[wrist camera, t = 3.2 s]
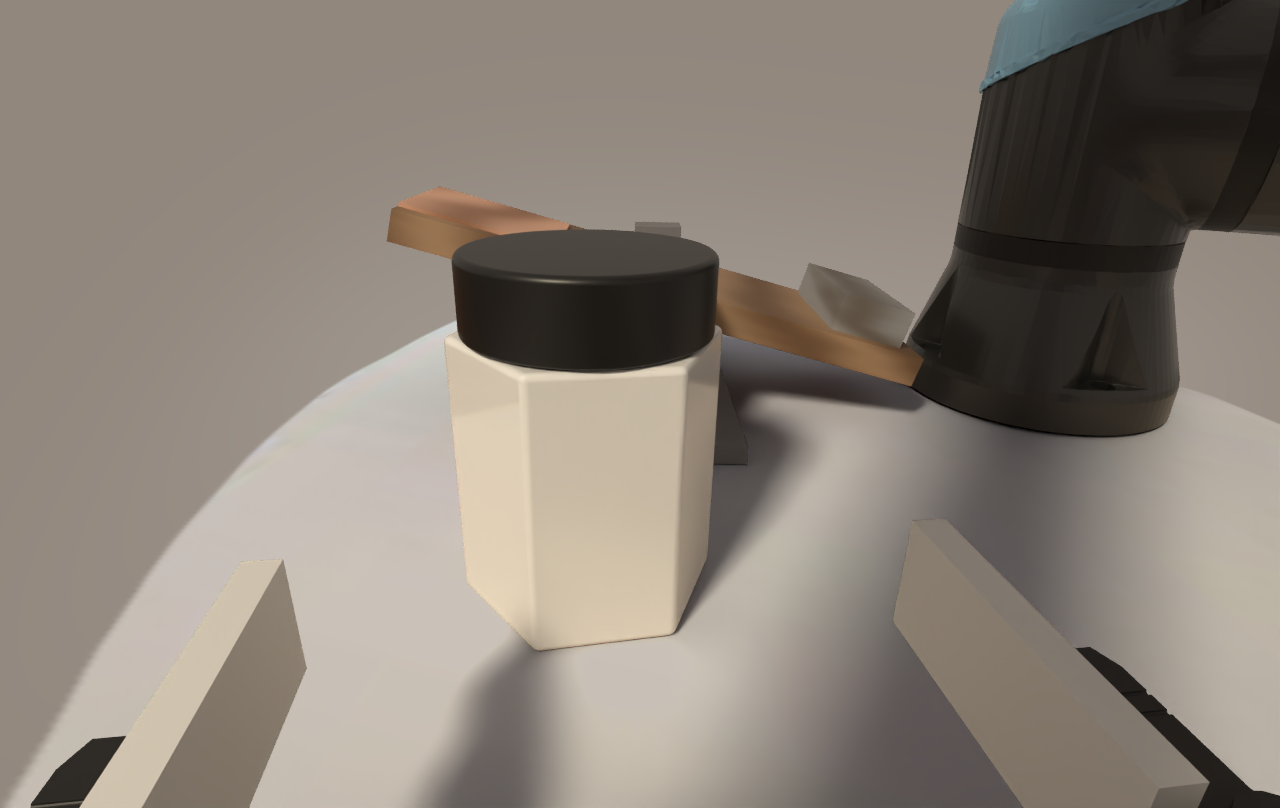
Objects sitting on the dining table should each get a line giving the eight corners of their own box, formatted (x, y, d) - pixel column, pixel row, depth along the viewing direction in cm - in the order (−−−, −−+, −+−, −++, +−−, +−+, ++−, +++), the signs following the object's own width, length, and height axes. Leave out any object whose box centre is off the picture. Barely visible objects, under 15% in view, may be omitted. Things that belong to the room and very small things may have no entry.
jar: (680, 506, 30) (693, 226, 26) (740, 633, 23) (773, 273, 18) (470, 524, 29) (444, 229, 24) (462, 667, 21) (423, 281, 17)
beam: (847, 328, 48) (869, 275, 46) (920, 400, 36) (952, 332, 34) (444, 213, 45) (454, 153, 43) (375, 250, 33) (387, 168, 31)
